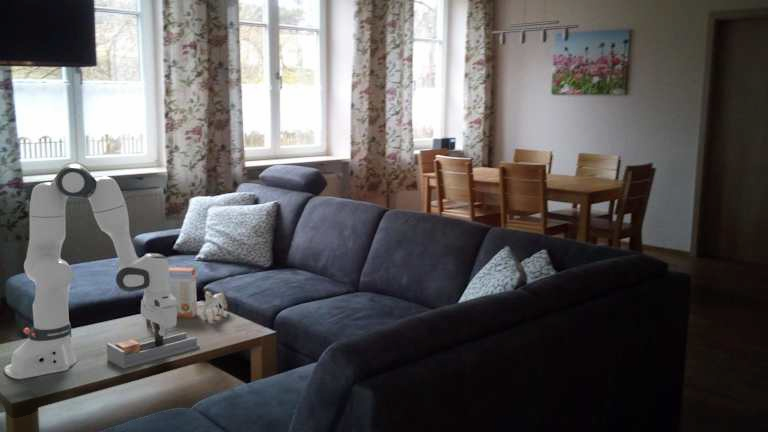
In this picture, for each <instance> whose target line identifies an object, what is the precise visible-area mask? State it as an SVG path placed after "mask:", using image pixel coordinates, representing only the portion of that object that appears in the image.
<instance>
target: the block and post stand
mask: <svg viewBox="0 0 768 432" xmlns="http://www.w3.org/2000/svg"><path fill="white" fill-rule="evenodd" d="M154 330H155V333H154V340H155V346H151V347H147V348H143V349H140V344H141V343H139V342H137V341H136V340H134V339H129V340H125V341H121V342H117V343H116V344H115V346H116V347H118V348H120V349H121V350H123V351H125V355H128V354H132V353H136V352H140V351H143V350H147V349H151V348H155V347H159V346H163V345H164V340H163V338H164V335H163V336H160V335H159V332H158V331H159V330H160V327H159V324H157V323H154Z"/></svg>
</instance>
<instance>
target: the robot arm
mask: <svg viewBox="0 0 768 432" xmlns="http://www.w3.org/2000/svg"><path fill="white" fill-rule="evenodd" d="M68 198H76V199H77V198H79V199H80V198H83V199H84V198H85V199H86V198H87V199H88V201H89V203H90V206H91V209H92V212H93V216H94V218H95V221H96V223H97V225H98V228H99V229H100V230H101V231H102V232H103V233H105V234H107V235H108V236H109V237H110V239H111V241H112V242H113V245H114V249H115V252H116V255H117V258H118V267H117V272H116V276H115V281H116V285H117V287H118V288H119V289H120V290H122V291H124V292H126V293H127V292H130V293H131V292H136V291H140V290H143V293H144V294H143V295H142V299H141V300H140V313H141V314H140V315H141V317H142V318H144V319H145V320H146V319H148V320H150V322H151V325H152V327H151V328H152V332H153V333H154V334H155V330H154V323H157V324H159V327H160V330H159V331H158V332H159V335H160V336H163V337H164V336H165V334H166V329H170V328H173V327H176V325H177V323H178V322H177V318H178V317H177V312H176V307H175V306H174V305H177V300H176V299H175V298H174V297H173V295H172V294H171V292H170V287H169V284H168V280H169V267H170V266H169V262H168V259H167V257H166V256H165V255H163V254H161V253H154V252H149V253H145V254H144V256H142V257H139V256H138V254H137V252H136V250H135V247H134V243H133V240H132V236H131V234H130V217H129V213H128V208H127V204H126V200H125V198H124V195H123V193H122V190H121V188H120V186H119V184H118V183H117V181H116V180H115V179H114V178H113V177H110V176H100V177H99V176H98V177H95V176H93V175H92V174H91V172H90V169H88V167H86V165H84V164H82V163H79V162H68V163H66V164H64V165H62V166H61V168H59V170H58V172H57V174H56V175H55V177H54V179H53V181H49V182H41V183H38V184H36V185H35V186H34V187H33V188H32V191H31V196H30V204H29V240H28V241H29V242H28V246H27V252H26V257H25V258H26V259H25V260H24V263H23V268H24V269H23V271H24V273H25V275H26V276H27V278H28V279H29V280H30V281H32V282H33V283H34V284H35V297H34V301H33V303H32V316H33V327H31V328H29V327H25V328H24V329H23V333H24V334H25V335H28V338H27V340H25V341H24V342H23V343H22V344H20V346H19V347H18V348H16V349H15V350H14V351H13V352H12V356H11V363H10V364H8V365H6V366H5V367H4V373H5V374H6V375H7V376H8V377H9V378H12V379H16V380H23V379H29V378H33V377H39V376H44V375H48V374H54V373H59V372H60V373H61V372H65V371H67V370H69V368H70V367H72V366H73V365H75V364H76V362H77V358H76V356H75V352H74V349H73V348H74V347H73V344H72V339H71V338H72V327H71V322H70V319H69V295H70V294H69V293H70V288H71V283H72V282H73V279H74V271H73V270H72V267H71V266H70V265H69V263H68V262H67V261H66V260H64V259H62V258H61V251H62V248H63V244H64V241H65V239H66V235H67V233H66V205H67V200H68Z"/></svg>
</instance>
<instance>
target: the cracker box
mask: <svg viewBox="0 0 768 432" xmlns="http://www.w3.org/2000/svg"><path fill="white" fill-rule="evenodd" d="M168 267H169V280H168V284H169V287H170V292H171V294H172V295H173V297H174V298H175V299H176V300H177V305H174V306H175V307H176V312H177V318H186V319H187V318H188V319H189V318H192V319H193V318H194V317H195V316H196V315H197V314H198V302H197V300H198V299H197V276H196V275H197V274H196V267H172V266H171V267H170V266H168Z"/></svg>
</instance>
